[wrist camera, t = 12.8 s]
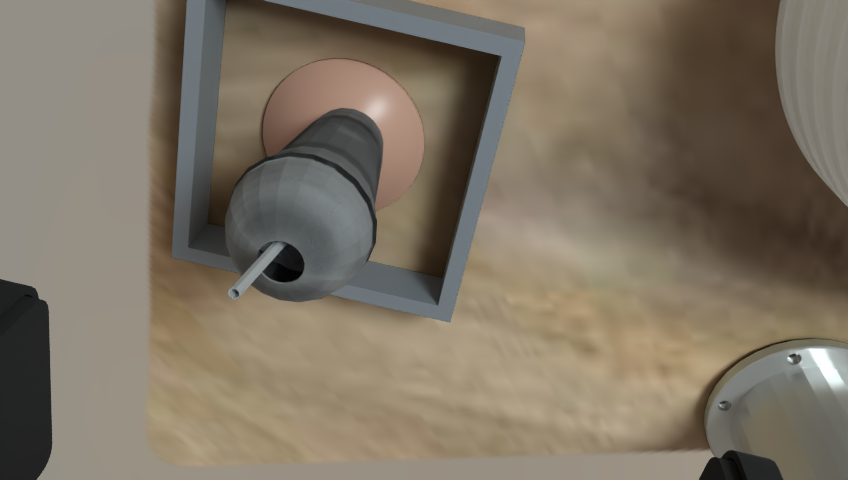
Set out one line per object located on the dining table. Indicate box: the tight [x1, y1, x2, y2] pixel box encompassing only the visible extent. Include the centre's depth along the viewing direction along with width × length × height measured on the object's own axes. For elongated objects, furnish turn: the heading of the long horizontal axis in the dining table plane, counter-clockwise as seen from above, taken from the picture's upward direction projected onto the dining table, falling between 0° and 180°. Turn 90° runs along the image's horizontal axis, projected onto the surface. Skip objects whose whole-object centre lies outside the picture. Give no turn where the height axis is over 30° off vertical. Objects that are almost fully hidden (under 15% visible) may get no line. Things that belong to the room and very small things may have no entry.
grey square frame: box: [171, 0, 525, 322], centre depth 46 cm, size 18×18×4 cm
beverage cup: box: [225, 108, 383, 302], centre depth 38 cm, size 7×7×20 cm
